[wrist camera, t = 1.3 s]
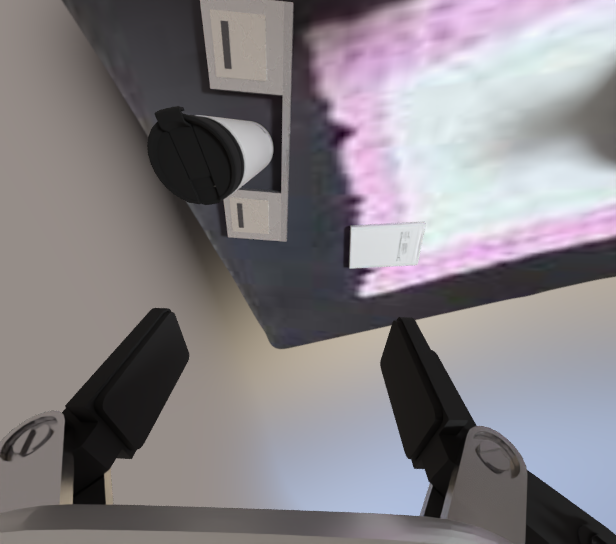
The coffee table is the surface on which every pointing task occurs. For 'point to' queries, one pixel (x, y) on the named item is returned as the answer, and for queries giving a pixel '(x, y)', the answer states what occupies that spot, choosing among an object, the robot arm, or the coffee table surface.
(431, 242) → the coffee table surface
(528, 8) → the coffee table surface
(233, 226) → the panel
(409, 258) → the external hard drive
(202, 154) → the travel mug
